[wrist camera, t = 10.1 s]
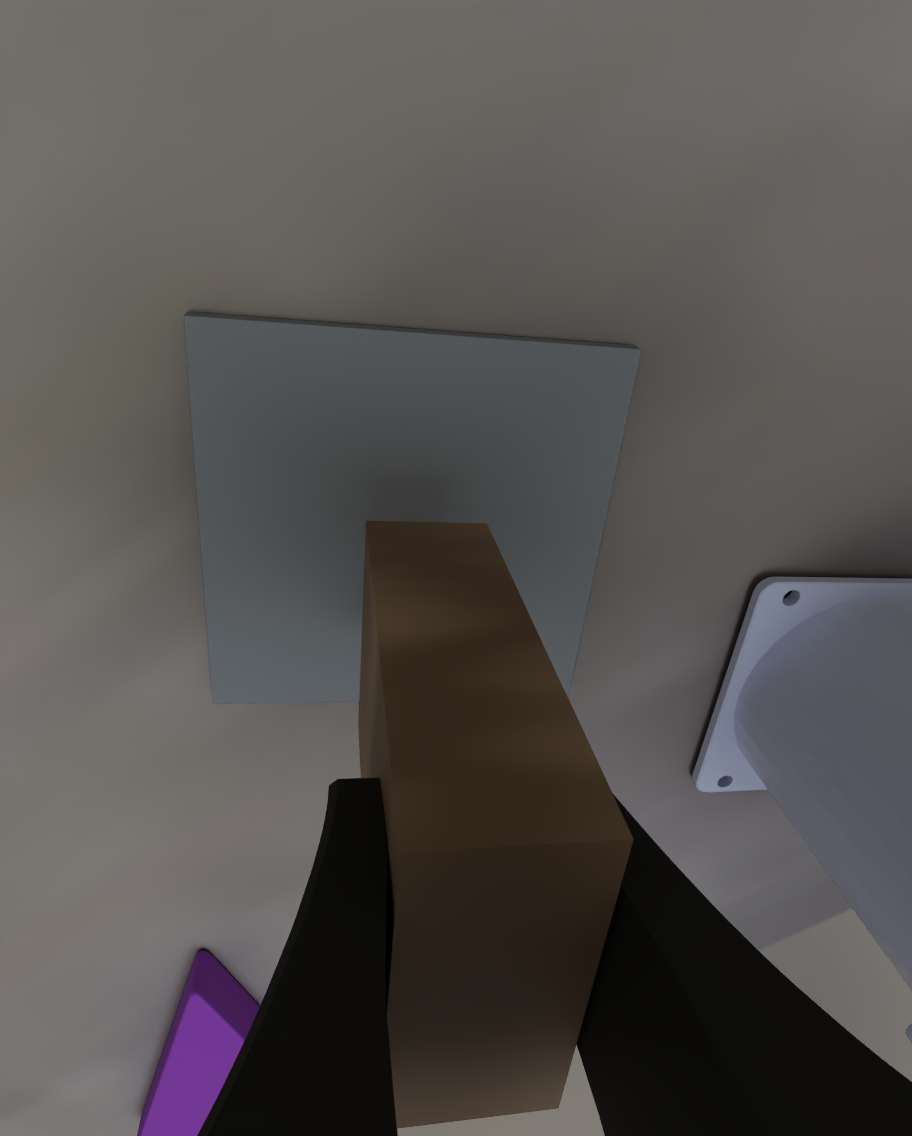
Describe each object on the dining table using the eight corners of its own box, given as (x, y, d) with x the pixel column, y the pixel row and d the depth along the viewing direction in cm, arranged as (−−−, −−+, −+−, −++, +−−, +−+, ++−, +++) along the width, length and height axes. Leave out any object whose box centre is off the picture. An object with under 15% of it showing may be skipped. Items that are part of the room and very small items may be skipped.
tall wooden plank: (487, 522, 14) (633, 839, 7) (463, 721, 17) (558, 1108, 10) (365, 520, 14) (400, 852, 7) (358, 724, 16) (377, 1130, 9)
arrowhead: (388, 969, 24) (395, 1123, 29) (385, 925, 26) (392, 1079, 30) (70, 1012, 23) (133, 1166, 27) (85, 963, 24) (142, 1117, 29)
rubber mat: (633, 345, 17) (641, 349, 17) (563, 687, 22) (568, 697, 21) (187, 311, 15) (183, 315, 15) (215, 692, 20) (212, 703, 19)
